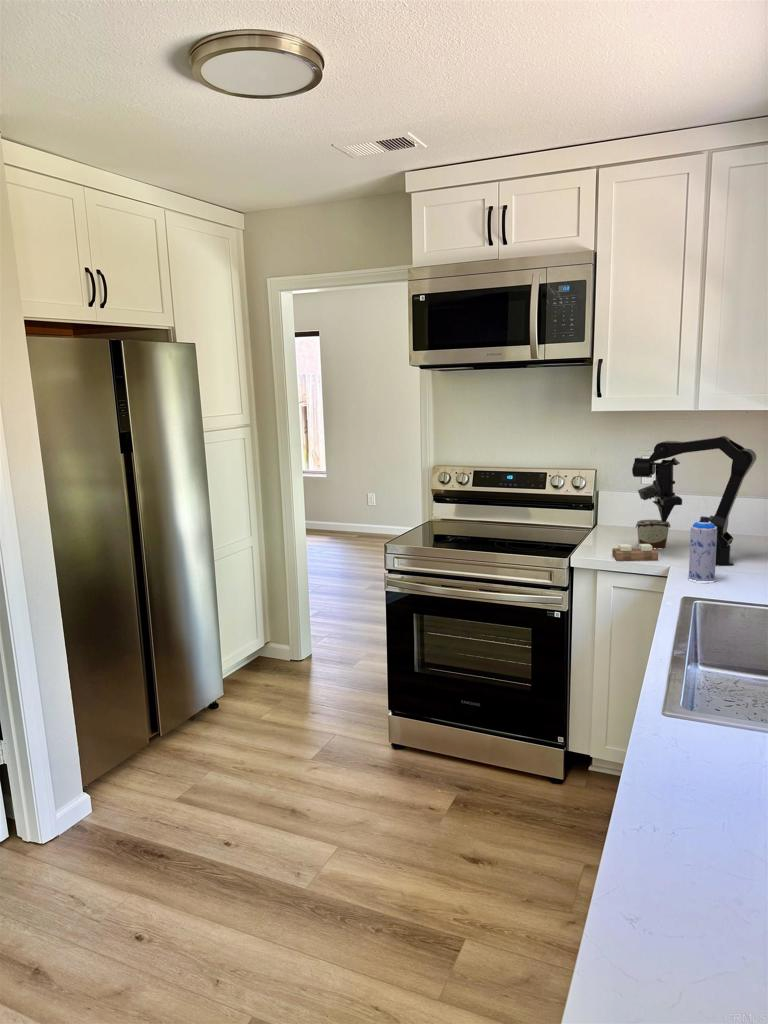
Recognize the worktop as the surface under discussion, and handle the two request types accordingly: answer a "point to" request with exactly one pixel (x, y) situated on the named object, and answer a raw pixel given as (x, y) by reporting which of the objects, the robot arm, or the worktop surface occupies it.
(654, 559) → the bar
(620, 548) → the plunger
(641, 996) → the worktop surface
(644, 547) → the plunger
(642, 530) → the food container
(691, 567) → the aerosol can
